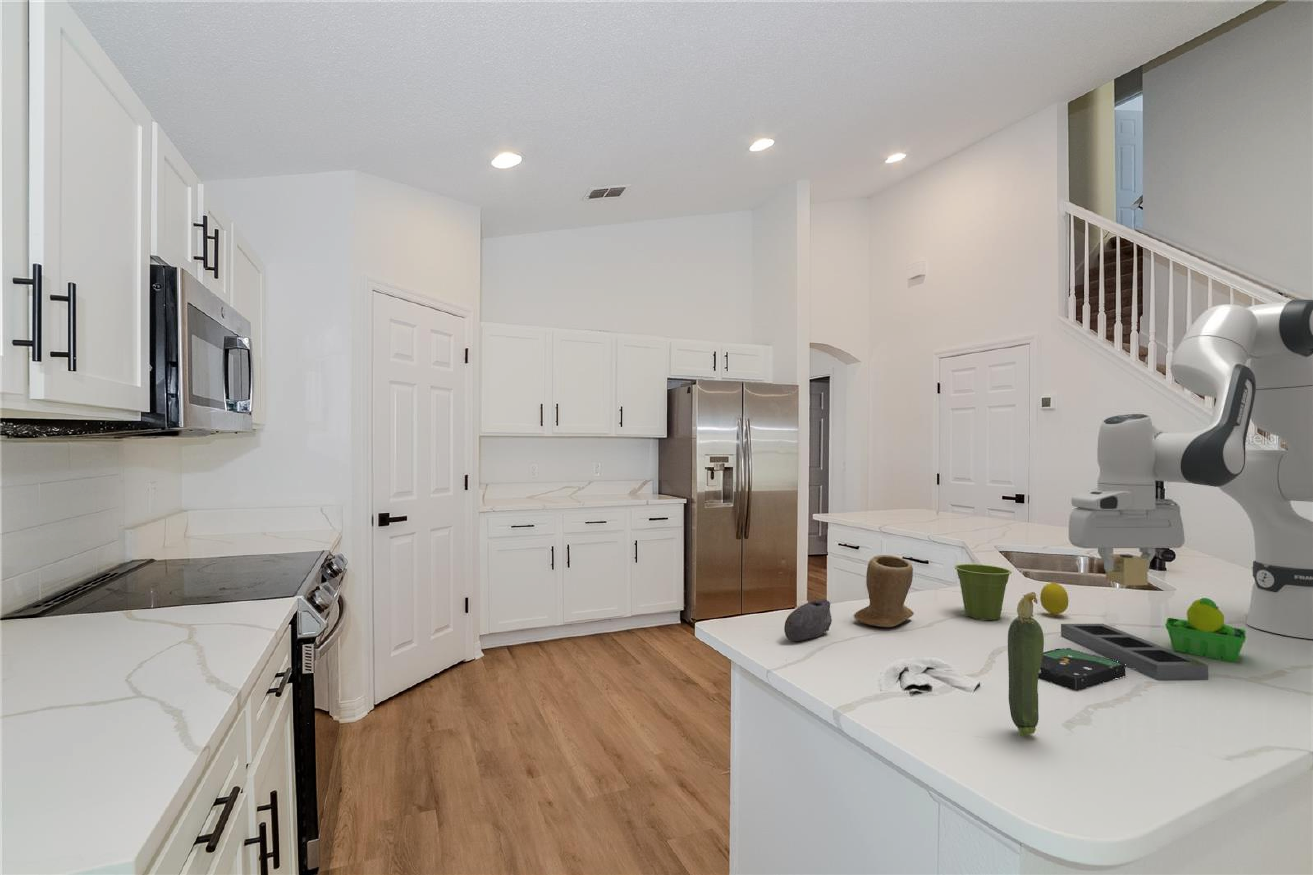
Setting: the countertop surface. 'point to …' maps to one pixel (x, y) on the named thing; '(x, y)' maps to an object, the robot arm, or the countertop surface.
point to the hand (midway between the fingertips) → (1126, 571)
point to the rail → (1135, 652)
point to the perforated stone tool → (808, 621)
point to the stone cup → (887, 591)
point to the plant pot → (982, 589)
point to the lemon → (1054, 598)
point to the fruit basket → (1205, 633)
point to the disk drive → (1078, 669)
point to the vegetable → (1024, 666)
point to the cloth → (908, 666)
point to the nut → (1129, 570)
